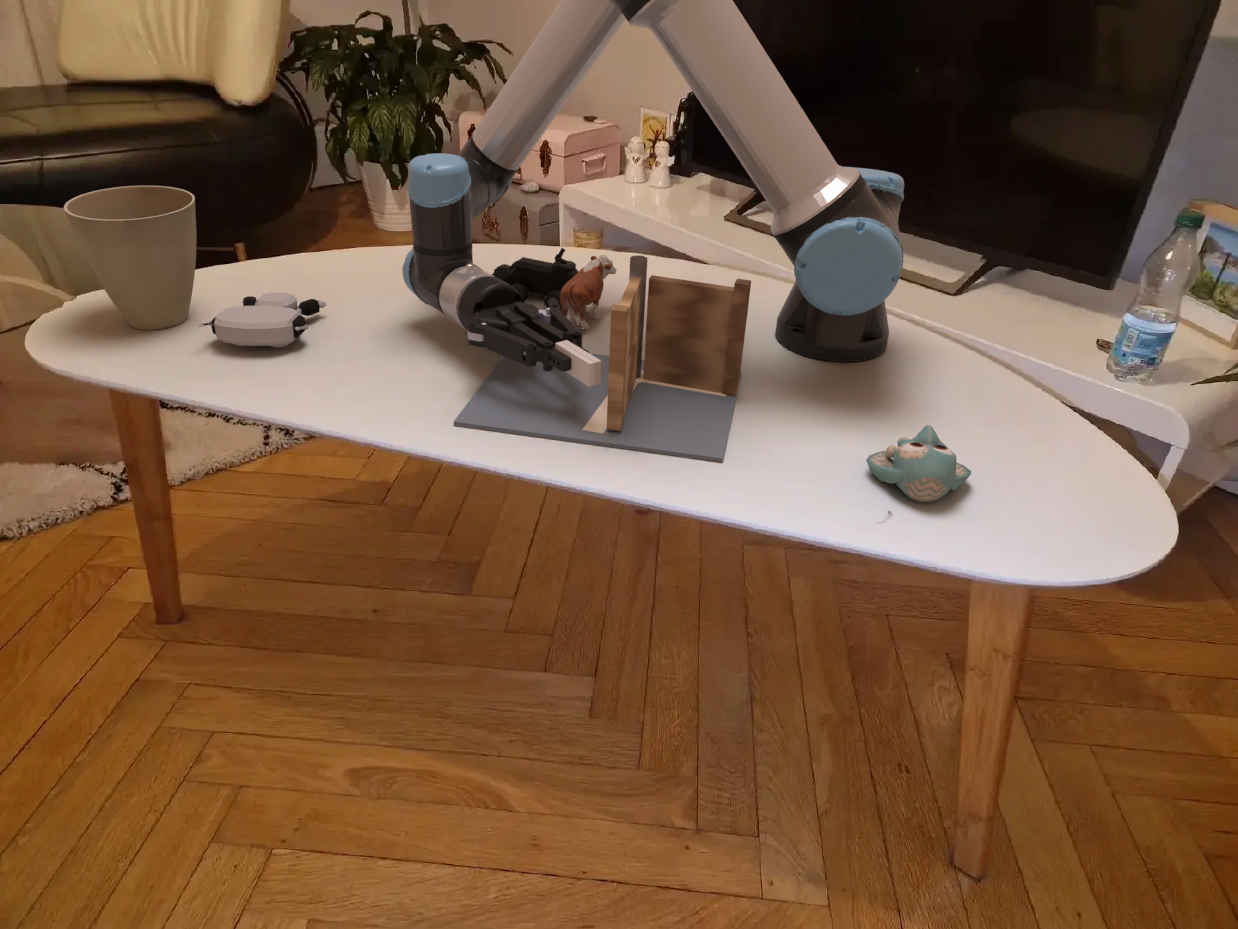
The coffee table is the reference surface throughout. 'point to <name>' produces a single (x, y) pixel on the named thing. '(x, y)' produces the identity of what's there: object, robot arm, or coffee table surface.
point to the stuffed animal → (919, 466)
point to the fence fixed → (691, 331)
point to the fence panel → (623, 353)
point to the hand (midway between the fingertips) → (595, 373)
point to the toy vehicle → (538, 277)
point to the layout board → (600, 411)
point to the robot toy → (264, 320)
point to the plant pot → (140, 249)
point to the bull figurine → (586, 289)
